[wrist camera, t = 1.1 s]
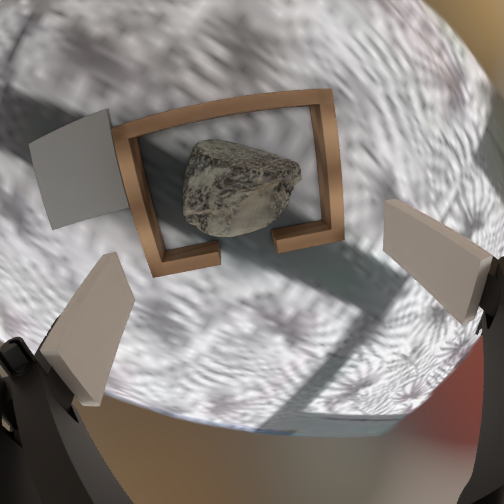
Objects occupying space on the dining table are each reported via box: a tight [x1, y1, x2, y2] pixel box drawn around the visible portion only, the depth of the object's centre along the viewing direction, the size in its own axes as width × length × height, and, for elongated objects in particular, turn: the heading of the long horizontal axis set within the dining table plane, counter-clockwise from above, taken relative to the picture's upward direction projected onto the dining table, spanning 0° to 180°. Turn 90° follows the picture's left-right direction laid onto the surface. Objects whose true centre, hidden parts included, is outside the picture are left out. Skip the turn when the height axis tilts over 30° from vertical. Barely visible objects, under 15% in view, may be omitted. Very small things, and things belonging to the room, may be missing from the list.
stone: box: [183, 140, 302, 237], centre depth 25 cm, size 10×10×10 cm
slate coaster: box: [29, 109, 130, 230], centre depth 25 cm, size 11×11×1 cm
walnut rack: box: [111, 89, 345, 278], centre depth 27 cm, size 16×21×3 cm
